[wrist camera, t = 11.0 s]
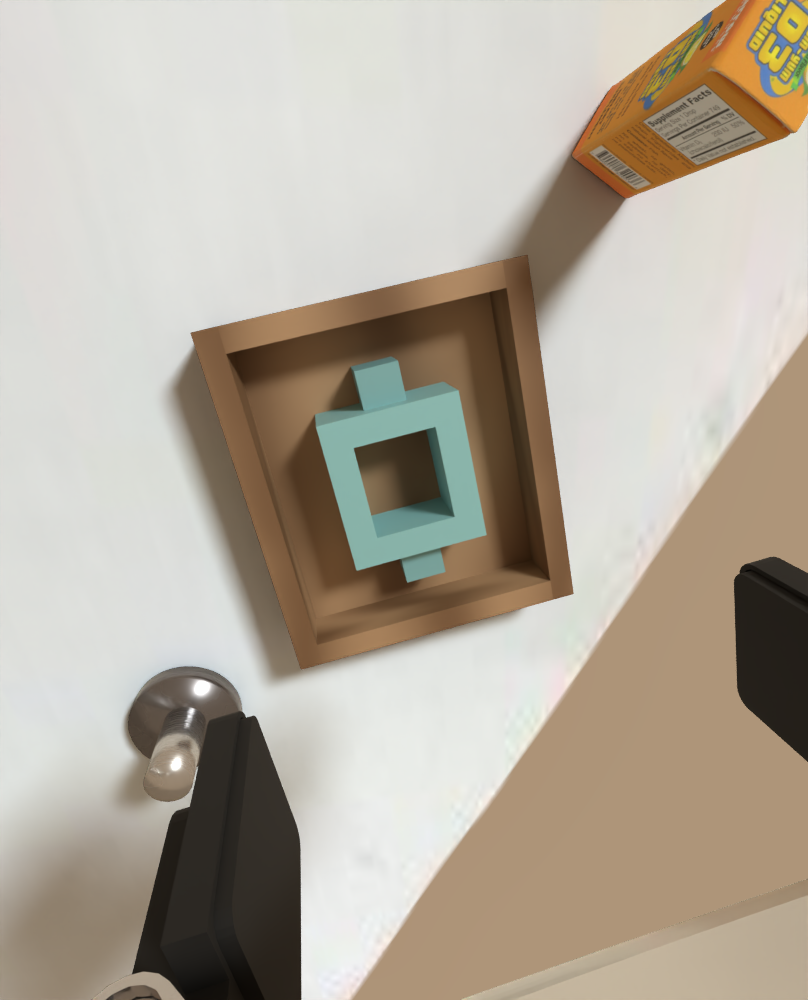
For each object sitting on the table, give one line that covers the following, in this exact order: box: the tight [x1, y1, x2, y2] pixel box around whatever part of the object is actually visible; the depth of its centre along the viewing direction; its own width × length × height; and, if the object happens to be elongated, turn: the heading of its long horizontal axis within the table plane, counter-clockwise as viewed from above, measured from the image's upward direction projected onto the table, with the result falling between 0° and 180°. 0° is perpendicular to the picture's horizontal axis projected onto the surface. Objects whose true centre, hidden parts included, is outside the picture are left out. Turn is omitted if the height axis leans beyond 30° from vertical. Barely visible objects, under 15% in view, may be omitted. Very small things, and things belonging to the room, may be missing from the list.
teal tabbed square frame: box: [315, 357, 487, 583], centre depth 26 cm, size 10×6×3 cm, turn 13°
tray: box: [191, 255, 573, 669], centre depth 26 cm, size 13×15×3 cm
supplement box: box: [572, 0, 808, 198], centre depth 20 cm, size 3×3×10 cm
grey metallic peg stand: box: [128, 667, 242, 802], centre depth 28 cm, size 5×5×5 cm
